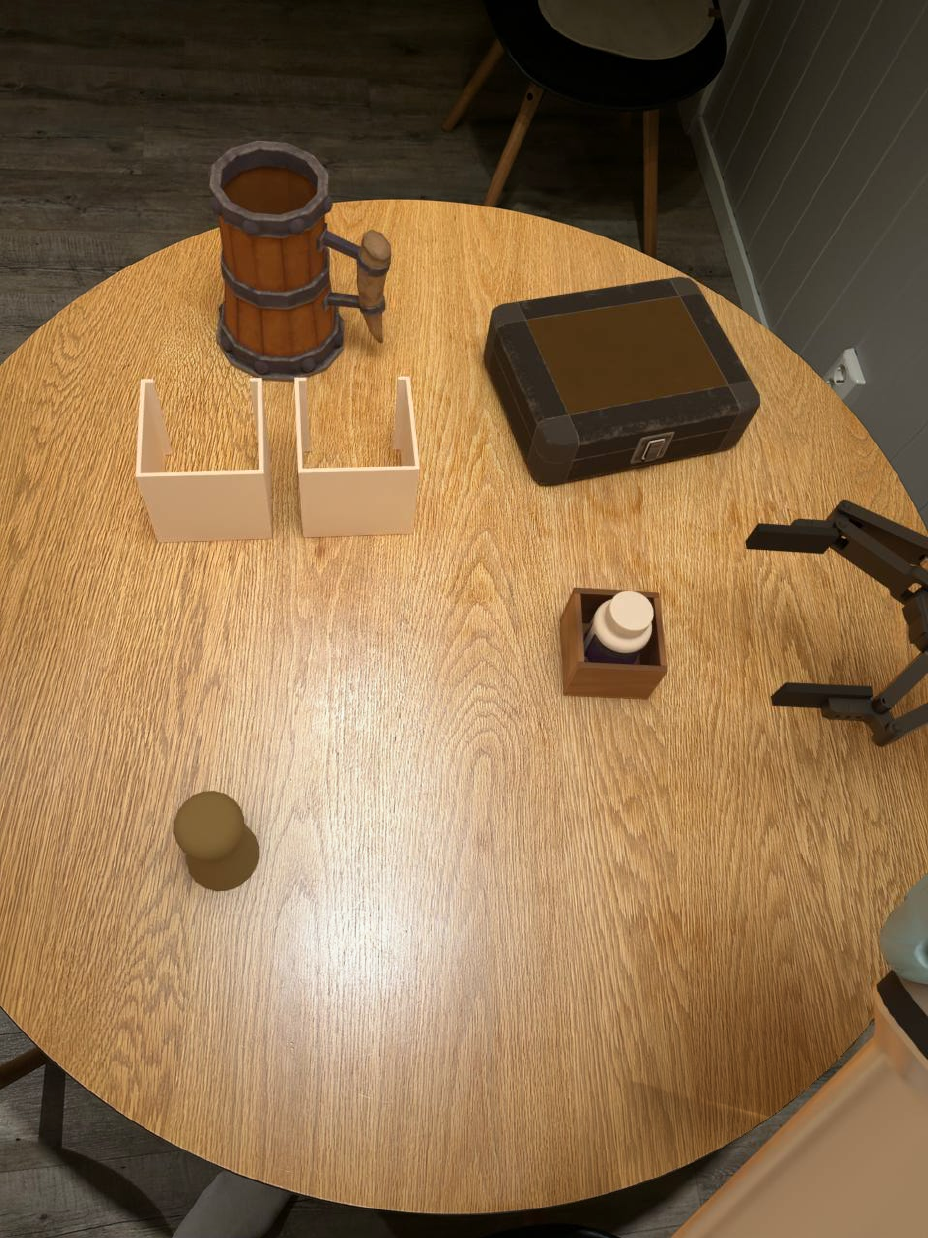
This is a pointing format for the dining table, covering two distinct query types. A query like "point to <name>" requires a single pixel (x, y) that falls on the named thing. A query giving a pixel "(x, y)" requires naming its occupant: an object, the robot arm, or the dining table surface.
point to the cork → (216, 841)
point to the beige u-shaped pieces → (244, 496)
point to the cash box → (617, 378)
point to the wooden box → (607, 676)
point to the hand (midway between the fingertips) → (764, 611)
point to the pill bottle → (619, 629)
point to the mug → (286, 264)
